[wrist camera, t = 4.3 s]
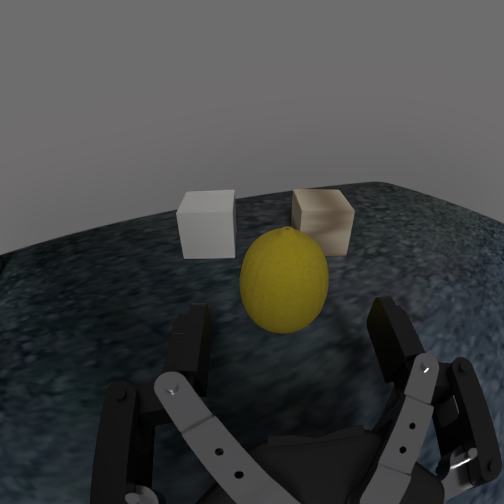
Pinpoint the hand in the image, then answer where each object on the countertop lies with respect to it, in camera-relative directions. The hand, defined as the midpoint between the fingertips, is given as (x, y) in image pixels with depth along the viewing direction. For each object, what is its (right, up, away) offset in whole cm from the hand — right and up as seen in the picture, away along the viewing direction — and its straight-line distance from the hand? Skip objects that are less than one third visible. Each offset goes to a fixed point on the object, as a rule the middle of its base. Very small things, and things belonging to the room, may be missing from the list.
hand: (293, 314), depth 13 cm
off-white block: (-6, +4, +16) cm, 17 cm away
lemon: (0, -3, +7) cm, 7 cm away
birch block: (+5, +4, +16) cm, 17 cm away
